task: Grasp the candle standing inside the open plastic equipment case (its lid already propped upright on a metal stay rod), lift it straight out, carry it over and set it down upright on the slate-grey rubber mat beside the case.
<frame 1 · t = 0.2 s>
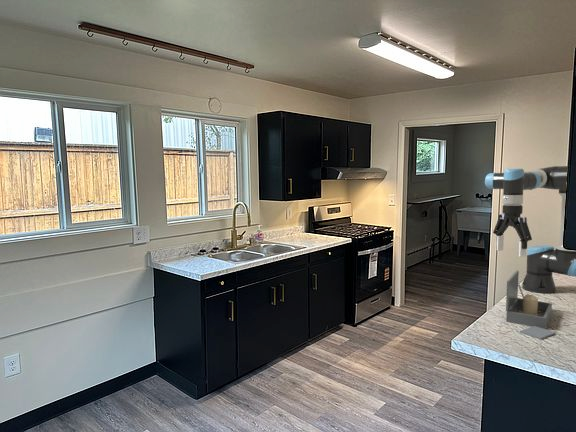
hand: (510, 253, 175), 28 cm above the countertop, fingers open, 13 cm apart
candle: (529, 317, 174), resting in case
mat: (537, 333, 157), on the countertop
case: (529, 317, 174), on the countertop
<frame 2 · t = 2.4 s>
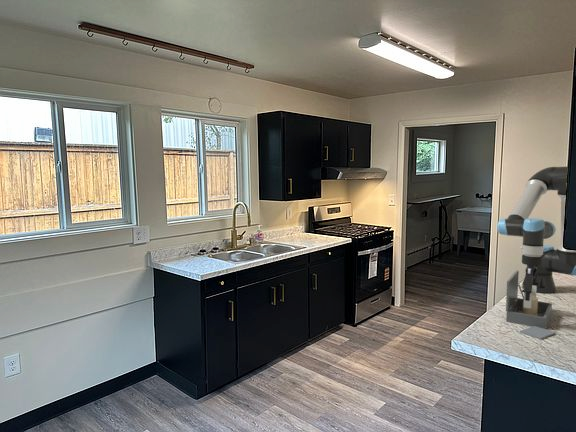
hand: (529, 303, 173), 6 cm above the countertop, fingers open, 13 cm apart
nothing on the countertop moved.
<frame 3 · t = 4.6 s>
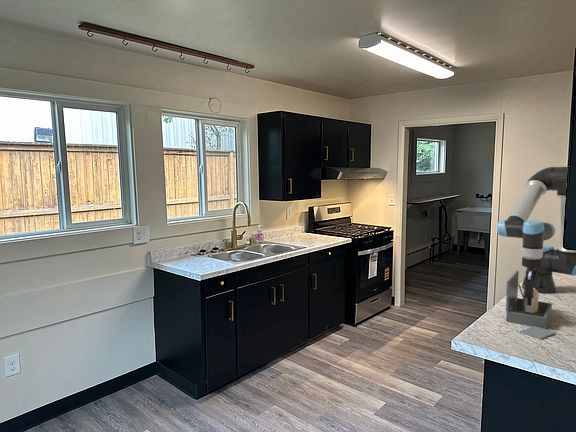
hand: (530, 309, 174), 3 cm above the countertop, fingers closed on candle, 5 cm apart
candle: (530, 310, 174), point 3 cm above the countertop, touching gripper
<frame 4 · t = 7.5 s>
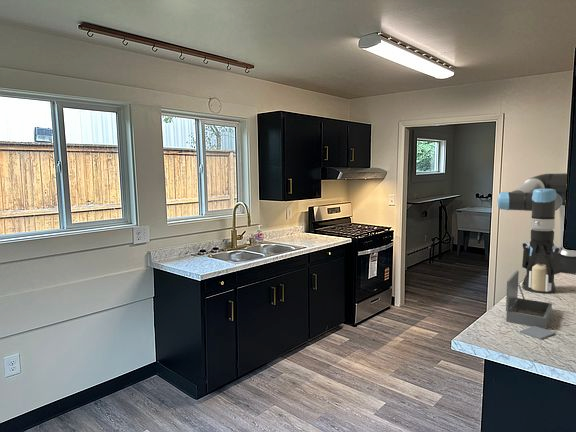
hand: (539, 288, 155), 18 cm above the countertop, fingers closed on candle, 5 cm apart
candle: (539, 289, 155), point 17 cm above the countertop, touching gripper
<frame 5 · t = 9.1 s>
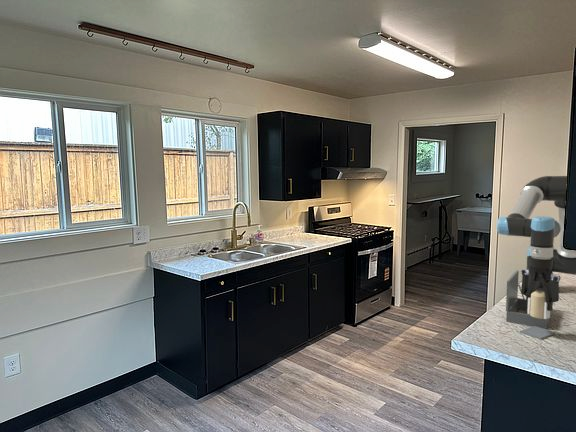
hand: (538, 315, 156), 7 cm above the countertop, fingers closed on candle, 5 cm apart
candle: (538, 316, 156), point 7 cm above the countertop, touching gripper
when the fingers open (2 cm above the countertop, at t = 10.6 s): candle stays where it is, resting on mat.
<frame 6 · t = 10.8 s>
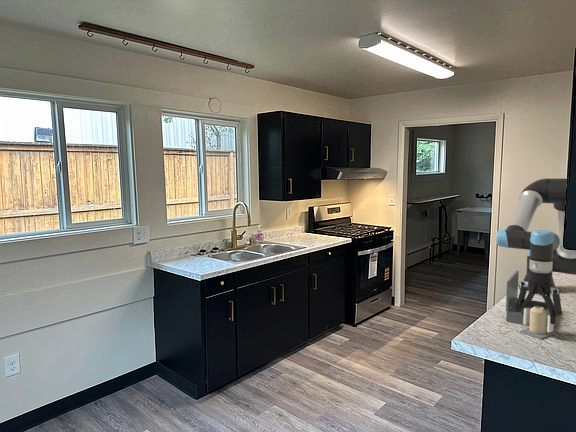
hand: (537, 327, 157), 2 cm above the countertop, fingers open, 8 cm apart
candle: (537, 332, 157), resting on mat
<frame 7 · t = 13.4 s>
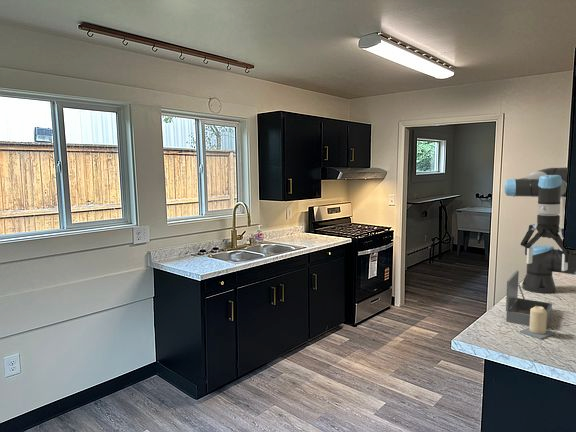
hand: (546, 266, 161), 25 cm above the countertop, fingers open, 13 cm apart
nothing on the countertop moved.
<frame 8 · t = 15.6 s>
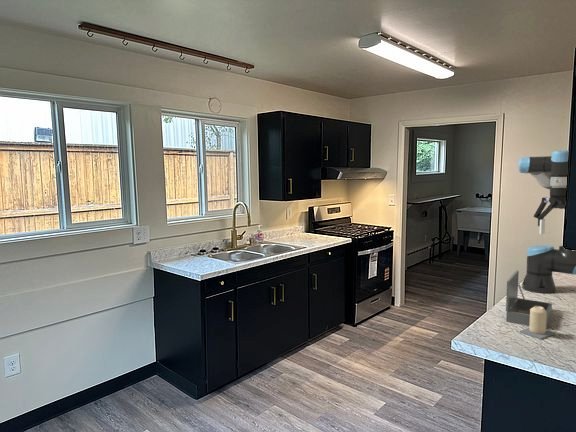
hand: (557, 235, 174), 35 cm above the countertop, fingers open, 13 cm apart
nothing on the countertop moved.
at the end: candle inside the target area on the mat (0.1 cm from its centre), point 0.4 cm above the mat's base; candle tilted 0°; the gripper is holding nothing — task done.
